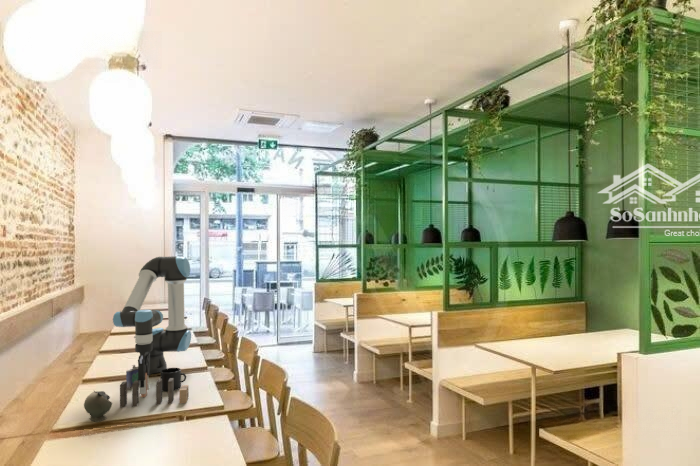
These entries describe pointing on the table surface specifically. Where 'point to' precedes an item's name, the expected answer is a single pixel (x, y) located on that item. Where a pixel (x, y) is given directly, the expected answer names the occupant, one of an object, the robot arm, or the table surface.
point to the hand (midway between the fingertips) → (144, 391)
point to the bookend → (183, 394)
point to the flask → (131, 376)
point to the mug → (171, 373)
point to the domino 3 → (146, 386)
